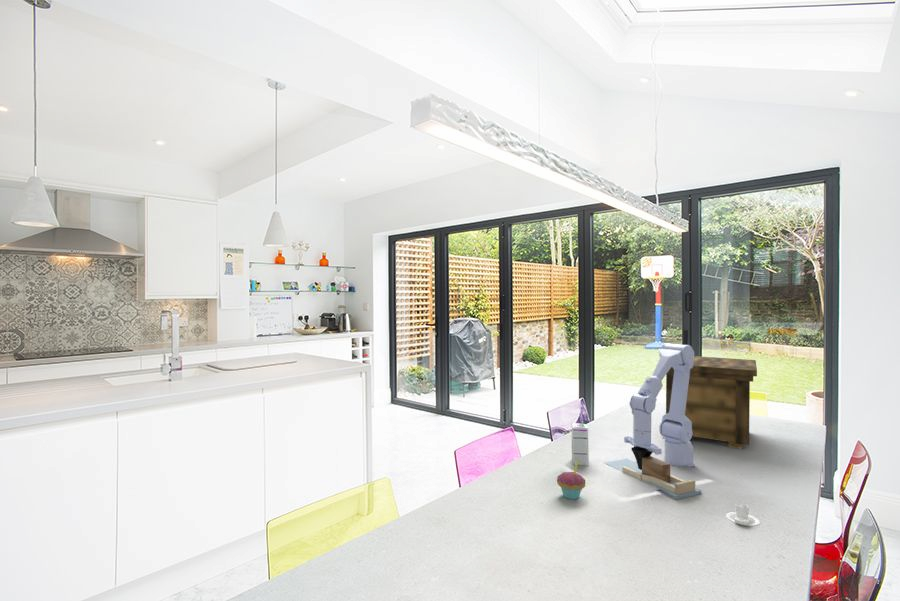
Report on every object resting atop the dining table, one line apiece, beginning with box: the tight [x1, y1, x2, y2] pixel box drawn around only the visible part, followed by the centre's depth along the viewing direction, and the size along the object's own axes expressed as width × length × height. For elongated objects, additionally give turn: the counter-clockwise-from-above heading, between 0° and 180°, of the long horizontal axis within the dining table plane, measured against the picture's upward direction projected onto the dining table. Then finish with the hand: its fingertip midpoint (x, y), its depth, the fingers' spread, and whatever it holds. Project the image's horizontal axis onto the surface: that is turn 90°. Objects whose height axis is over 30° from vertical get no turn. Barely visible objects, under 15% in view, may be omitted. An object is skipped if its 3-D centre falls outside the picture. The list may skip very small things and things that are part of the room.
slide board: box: [604, 458, 702, 501], centre depth 158 cm, size 11×31×4 cm, turn 24°
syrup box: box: [571, 422, 590, 467], centre depth 170 cm, size 6×6×14 cm
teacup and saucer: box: [725, 502, 761, 527], centre depth 129 cm, size 9×8×4 cm
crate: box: [665, 355, 758, 449], centre depth 206 cm, size 35×35×33 cm
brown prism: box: [642, 455, 671, 483], centre depth 155 cm, size 4×8×6 cm, turn 24°
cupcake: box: [556, 459, 586, 500], centre depth 144 cm, size 9×8×12 cm
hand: (641, 468), depth 160 cm, fingers closed
